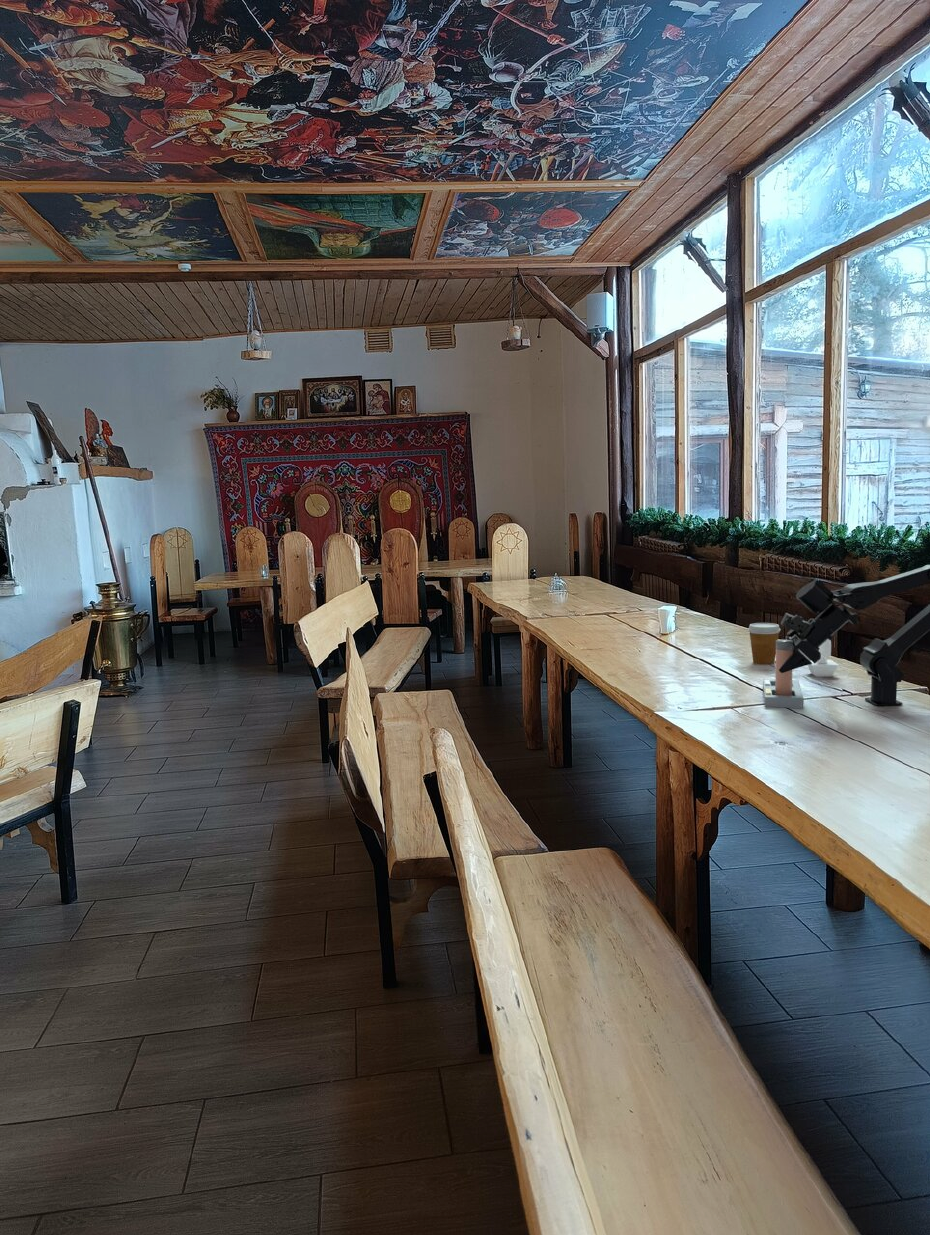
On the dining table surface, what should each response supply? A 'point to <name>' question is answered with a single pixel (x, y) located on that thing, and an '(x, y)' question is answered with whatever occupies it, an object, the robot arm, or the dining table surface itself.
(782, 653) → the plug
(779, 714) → the dining table surface
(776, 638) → the disposable coffee cup
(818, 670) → the figurine
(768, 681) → the socket plate
